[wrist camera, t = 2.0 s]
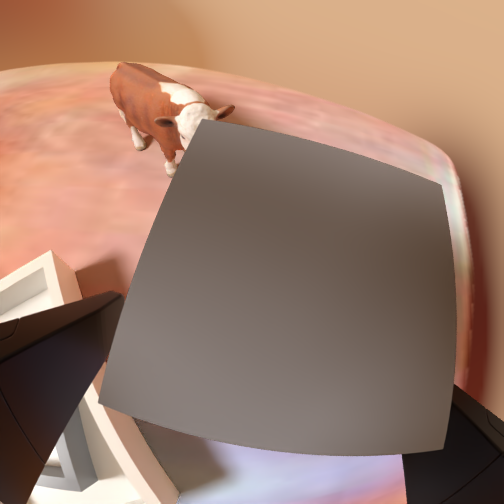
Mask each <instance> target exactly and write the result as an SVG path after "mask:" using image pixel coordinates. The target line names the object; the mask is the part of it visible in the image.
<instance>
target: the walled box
mask: <svg viewBox="0 0 504 504" xmlns="http://www.w3.org/2000/svg"><path fill="white" fill-rule="evenodd" d="M82 299H83V298H82V295H81V292H80V288H79V285H78V282H77V278H76V275H75V271H74V270H73V269H71V268H70V267H69V266H68V265H67V264H66V263H65V262H64V261H63V260H61V259H60V258H59V257H58V256H57V255H56V254H55V253H54V252H53V251H52V250H50V251H48V252H46V253H45V254H43V255H41V256H39V257H38V258H36V259H34V260H32V261H31V262H29V263H27V264H26V265H24V266H22V267H21V268H19V269H17V270H16V271H14V272H12V273H11V274H9V275H8V276H6V277H4V278H3V279H1V280H0V323H2V322H6V321H9V320H13V319H16V318H19V319H20V317H23V316H27V315H30V314H34V313H37V312H40V311H44V310H47V309H51V308H54V307H58V306H61V305H64V304H68V303H71V302H75V301H78V300H82ZM106 365H107V363H106V361H105V362H104V364H103V365H102V367H101V369H100V370H99V372H98V373H97V375H96V377H95V378H94V380H93V381H92V383H91V385H90V386H89V388H88V390H87V391H86V393H85V395H84V396H83V398H82V400H81V401H80V403H79V405H78V407H77V408H76V410H75V412H74V413H73V415H72V417H71V419H70V420H69V422H68V424H67V426H66V428H65V429H64V431H63V433H62V435H61V436H60V438H59V440H58V442H57V444H56V446H55V448H54V449H53V451H52V453H51V455H50V457H49V459H48V461H47V463H46V464H45V467H44V469H43V471H42V473H41V475H40V477H39V479H38V481H37V483H36V485H35V487H34V489H33V491H32V493H31V495H30V498H29V500H28V502H27V504H176V502H177V500H178V497H179V495H180V493H179V492H178V490H177V489H176V487H175V486H174V485H173V483H172V482H171V480H170V479H169V477H168V476H167V474H166V473H165V471H164V470H163V468H162V467H161V465H160V464H159V462H158V461H157V459H156V457H155V456H154V454H153V453H152V451H151V449H150V448H149V446H148V444H147V443H146V441H145V439H144V438H143V436H142V434H141V432H140V430H139V429H138V427H137V425H136V423H135V421H134V420H133V418H132V416H129V415H126V414H124V413H121V412H118V411H116V410H113V409H111V408H108V407H106V406H103V405H101V404H99V403H98V399H99V394H100V390H101V385H102V381H103V377H104V373H105V369H106ZM0 504H3V503H2V502H0Z"/></svg>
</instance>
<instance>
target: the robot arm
mask: <svg viewBox="0 0 504 504" xmlns="http://www.w3.org/2000/svg"><path fill="white" fill-rule="evenodd" d="M124 303H125V299H124V296H123V294H121V293H118V292H114V291H109V292H106V293H102V294H99V295H95V296H92V297H89V298H85V299H82V300H78V301H75V302H71V303H68V304H64V305H61V306H58V307H54V308H51V309H47V310H44V311H40V312H37V313H34V314H30V315H27V316H23V317H20V319H19V318H16V319H13V320H9V321H6V322H2V323H0V502H2V503H3V504H27V502H28V500H29V498H30V495H31V493H32V491H33V489H34V487H35V485H36V483H37V481H38V479H39V477H40V475H41V473H42V471H43V469H44V467H45V464H46V463H47V461H48V459H49V457H50V455H51V453H52V451H53V449H54V448H55V446H56V444H57V442H58V440H59V438H60V436H61V435H62V433H63V431H64V429H65V428H66V426H67V424H68V422H69V420H70V419H71V417H72V415H73V413H74V412H75V410H76V408H77V407H78V405H79V403H80V401H81V400H82V398H83V396H84V395H85V393H86V391H87V390H88V388H89V386H90V385H91V383H92V381H93V380H94V378H95V377H96V375H97V373H98V372H99V370H100V369H101V367H102V365H103V364H104V362H105V360H106V358H107V356H108V354H109V352H110V350H111V346H112V343H113V339H114V336H115V332H116V329H117V325H118V322H119V319H120V316H121V312H122V309H123V306H124ZM402 461H403V469H404V477H405V486H406V497H407V504H504V422H503V421H502V420H501V419H499V418H498V417H497V416H495V415H494V414H493V413H492V412H490V411H489V410H488V409H485V407H484V406H482V405H481V404H480V403H479V402H477V401H476V400H475V399H473V398H472V397H471V396H469V395H468V394H467V393H466V392H464V391H463V390H462V389H460V388H459V387H458V386H456V385H455V384H453V393H452V401H451V408H450V415H449V421H448V427H447V432H446V437H445V442H444V447H443V449H441V450H434V451H426V452H418V453H408V454H402Z"/></svg>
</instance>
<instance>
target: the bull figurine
mask: <svg viewBox="0 0 504 504" xmlns="http://www.w3.org/2000/svg"><path fill="white" fill-rule="evenodd" d="M110 91H111V93H112V96H113V100H114V102H115V104H116V106H117V107H118V108H119V112H120V116H121V117H122V118H123V119H124V121H125V122H126V124H127V125H128V126H129V128H130V129H131V131H132V141H133V142H134V145H135V148H136V150H139V151H140V150H143V149H145V148H146V143H145V141H144V139H143V138H142V136H141V135H140V134H139V132H138V130H140V131H141V132H143V133H146V134H149V135H152V136H153V137H154V138H155V139H156V140H157V141H158V142H159V144H160V147H161V150H162V151H163V152H164V155H165V157H166V159H167V160H166V163H165V164H164V166H165V167H166V172H167V175H168V176H169V177H174V174H175V172H176V170H177V165H176V163H175V160H174V159H175V156H176V153H175V151H176V150H183V151H184V152H185V151H186V149H187V147H188V145H189V143H190V141H191V139H192V137H193V135H194V133H195V131H196V129H197V127H198V125H199V123H200V121H201V119H208V120H218V119H223V118H225V117H226V116H228V115H229V114H231V113H232V111H233V110H234V108H235V106H234V105H227V106H224V107H222V108H219V109H217V110H212V109H211V108H210V107H209V104H208V103H207V102H206V100H205V99H204V98H203V97H202V96H201V95H200V94H199V93H197V92H196V91H194V90H193V89H192V88H190V87H188V86H186V85H184V84H180V83H178V82H176V81H174V80H172V79H170V78H168V77H166V76H164V75H162V74H160V73H158V72H156V71H155V70H153V69H151V68H148V67H146V66H143V65H141V64H136V63H126V62H121V63H119V64H118V66H117V70H116V71H115V72H114V73H113V74H112V75H111V78H110ZM137 129H138V130H137Z"/></svg>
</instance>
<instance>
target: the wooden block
mask: <svg viewBox="0 0 504 504" xmlns="http://www.w3.org/2000/svg"><path fill="white" fill-rule="evenodd" d="M456 327H457V320H456V288H455V273H454V262H453V252H452V244H451V236H450V229H449V223H448V217H447V211H446V205H445V200H444V195H443V190H442V186H441V185H440V184H438V183H435V182H433V181H430V180H428V179H426V178H423V177H421V176H418V175H415V174H413V173H410V172H408V171H405V170H402V169H400V168H397V167H394V166H391V165H389V164H386V163H383V162H380V161H377V160H374V159H371V158H368V157H365V156H362V155H359V154H355V153H352V152H349V151H346V150H342V149H339V148H336V147H332V146H329V145H325V144H321V143H318V142H314V141H310V140H306V139H302V138H298V137H294V136H290V135H286V134H282V133H277V132H273V131H268V130H263V129H259V128H254V127H249V126H243V125H238V124H233V123H227V122H221V121H215V120H208V119H201V121H200V123H199V125H198V127H197V129H196V131H195V133H194V135H193V137H192V139H191V141H190V143H189V145H188V147H187V149H186V151H185V153H184V155H183V157H182V159H181V162H180V164H179V166H178V168H177V170H176V172H175V174H174V177H173V179H172V181H171V183H170V186H169V188H168V190H167V192H166V195H165V197H164V199H163V202H162V204H161V206H160V209H159V211H158V213H157V216H156V218H155V221H154V223H153V226H152V228H151V231H150V233H149V236H148V238H147V241H146V243H145V246H144V249H143V251H142V254H141V257H140V259H139V262H138V265H137V268H136V271H135V273H134V276H133V279H132V282H131V285H130V288H129V291H128V294H127V297H126V300H125V303H124V306H123V309H122V312H121V316H120V319H119V322H118V325H117V329H116V332H115V336H114V339H113V343H112V346H111V350H110V354H109V357H108V361H107V365H106V369H105V373H104V377H103V381H102V385H101V390H100V394H99V399H98V403H99V404H101V405H103V406H106V407H108V408H111V409H113V410H116V411H118V412H121V413H124V414H126V415H129V416H132V417H134V418H137V419H140V420H143V421H146V422H149V423H152V424H155V425H158V426H161V427H165V428H168V429H171V430H175V431H178V432H182V433H186V434H189V435H193V436H197V437H201V438H206V439H210V440H214V441H219V442H224V443H229V444H234V445H239V446H245V447H251V448H257V449H264V450H271V451H279V452H288V453H298V454H311V455H330V456H378V455H396V454H408V453H418V452H426V451H434V450H441V449H443V447H444V442H445V437H446V432H447V427H448V421H449V415H450V408H451V401H452V393H453V384H454V373H455V358H456Z"/></svg>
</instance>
